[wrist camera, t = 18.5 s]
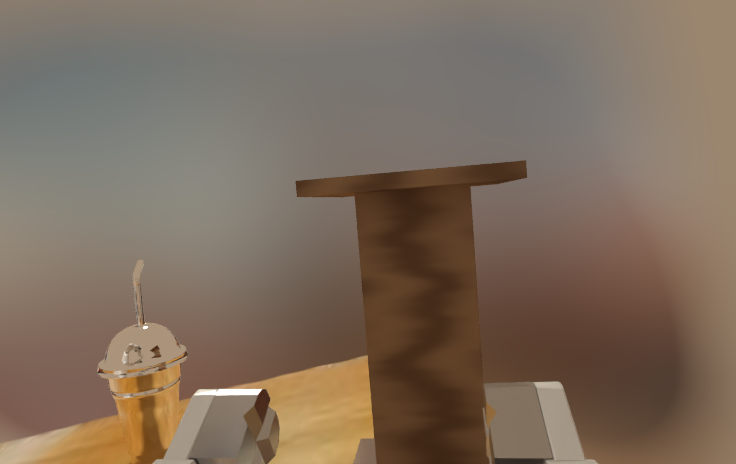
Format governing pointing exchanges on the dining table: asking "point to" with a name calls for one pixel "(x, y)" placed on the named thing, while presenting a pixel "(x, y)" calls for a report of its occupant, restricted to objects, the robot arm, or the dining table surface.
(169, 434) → the cup with straw
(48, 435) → the dining table surface
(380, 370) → the walnut stand
